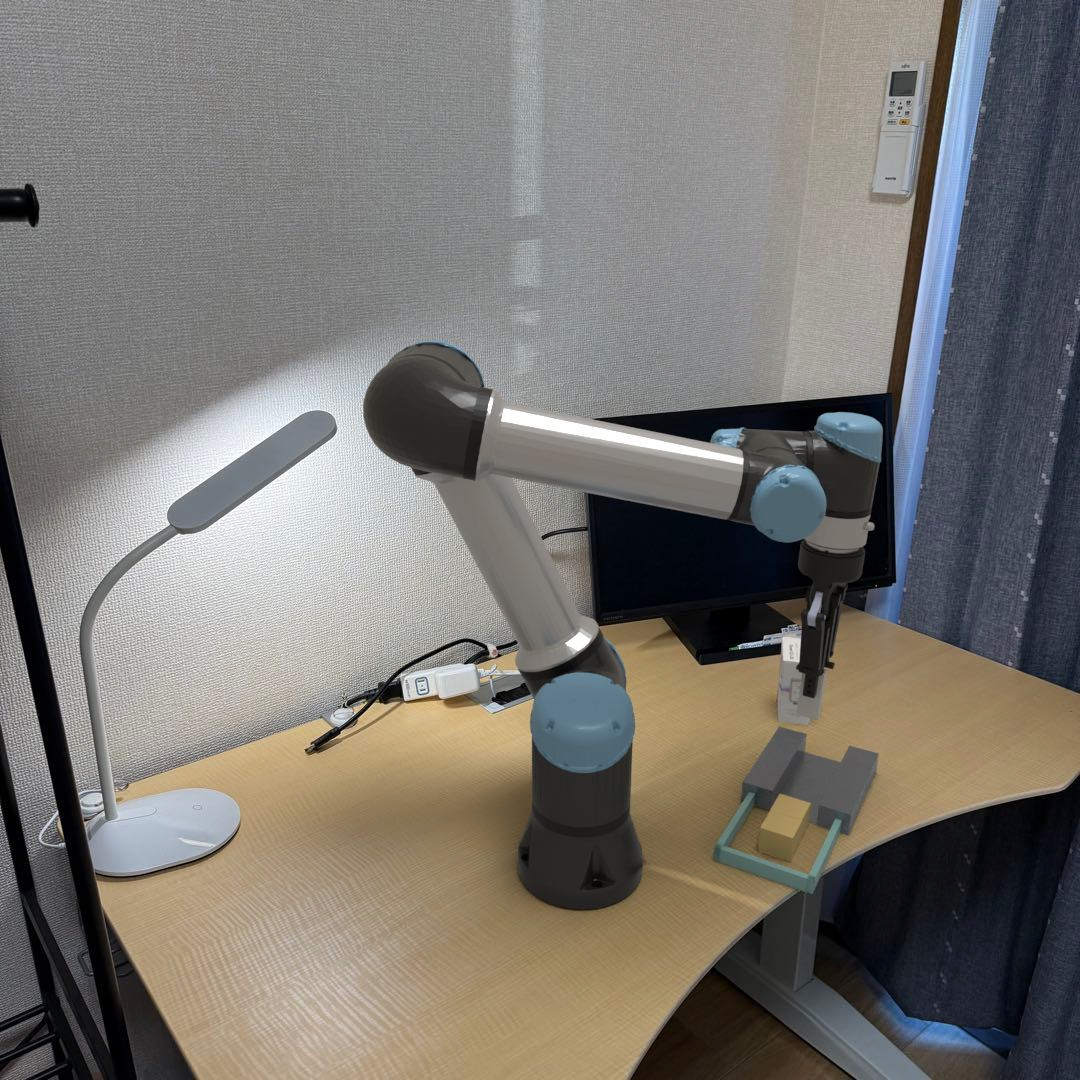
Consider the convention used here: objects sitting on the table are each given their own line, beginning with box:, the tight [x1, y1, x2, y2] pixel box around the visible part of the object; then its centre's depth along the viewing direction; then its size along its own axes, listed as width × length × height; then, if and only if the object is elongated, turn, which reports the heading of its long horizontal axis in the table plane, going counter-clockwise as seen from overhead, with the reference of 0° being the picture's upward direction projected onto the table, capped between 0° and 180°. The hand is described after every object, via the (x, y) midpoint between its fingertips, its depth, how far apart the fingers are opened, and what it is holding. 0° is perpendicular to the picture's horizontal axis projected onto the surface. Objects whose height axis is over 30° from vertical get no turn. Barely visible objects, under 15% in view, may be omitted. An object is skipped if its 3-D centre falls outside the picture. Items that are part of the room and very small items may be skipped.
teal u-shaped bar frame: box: [713, 792, 842, 895], centre depth 118 cm, size 13×12×3 cm
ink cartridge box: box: [776, 636, 811, 726], centre depth 147 cm, size 9×5×15 cm, turn 168°
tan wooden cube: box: [757, 810, 802, 863], centre depth 118 cm, size 4×4×4 cm
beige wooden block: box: [770, 794, 811, 842], centre depth 121 cm, size 4×4×4 cm
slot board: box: [740, 726, 880, 836], centre depth 130 cm, size 16×14×4 cm
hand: (808, 714), depth 123 cm, fingers closed
